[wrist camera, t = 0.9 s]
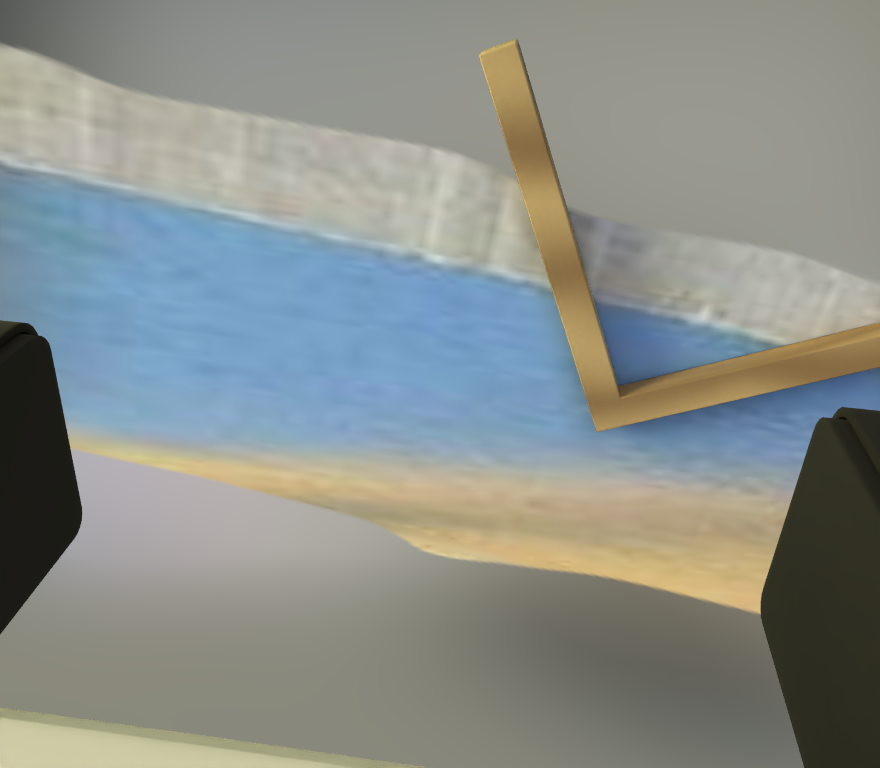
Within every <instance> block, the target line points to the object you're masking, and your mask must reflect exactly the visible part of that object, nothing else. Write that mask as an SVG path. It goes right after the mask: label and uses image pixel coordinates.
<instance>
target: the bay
mask: <svg viewBox="0 0 880 768" xmlns="http://www.w3.org/2000/svg"><path fill="white" fill-rule="evenodd" d="M479 58H480V61H481V64H482V68H483V70H484V74H485V77H486V80H487V83H488V86H489V90H490V93H491V96H492V99H493V102H494V106H495V109H496V112H497V115H498V119H499V121H500V125H501V128H502V131H503V135H504V138H505V141H506V144H507V147H508V150H509V154H510V156H511V160H512V163H513V166H514V170H515V173H516V176H517V179H518V182H519V186H520V189H521V192H522V195H523V198H524V202H525V205H526V208H527V211H528V214H529V217H530V221H531V224H532V227H533V230H534V233H535V237H536V240H537V243H538V246H539V249H540V253H541V256H542V259H543V262H544V265H545V269H546V272H547V275H548V278H549V281H550V284H551V288H552V291H553V294H554V297H555V300H556V304H557V307H558V310H559V313H560V316H561V320H562V323H563V326H564V329H565V332H566V336H567V339H568V342H569V345H570V348H571V351H572V355H573V358H574V361H575V364H576V367H577V371H578V374H579V377H580V380H581V383H582V387H583V390H584V393H585V396H586V399H587V403H588V406H589V409H590V412H591V415H592V419H593V422H594V425H595V428H596V431H597V432H599V431H603V430H608V429H612V428H616V427H621V426H625V425H630V424H634V423H638V422H643V421H647V420H651V419H656V418H660V417H664V416H669V415H673V414H678V413H682V412H686V411H691V410H695V409H699V408H704V407H708V406H712V405H717V404H721V403H726V402H730V401H734V400H739V399H743V398H747V397H752V396H756V395H760V394H765V393H769V392H774V391H778V390H782V389H787V388H791V387H795V386H800V385H804V384H808V383H813V382H817V381H822V380H826V379H830V378H835V377H839V376H843V375H848V374H852V373H856V372H861V371H865V370H870V369H874V368H878V367H880V323H877V324H873V325H869V326H865V327H860V328H856V329H852V330H848V331H844V332H840V333H836V334H831V335H827V336H823V337H819V338H815V339H811V340H807V341H803V342H798V343H794V344H790V345H786V346H782V347H778V348H774V349H770V350H765V351H761V352H757V353H753V354H749V355H745V356H741V357H736V358H732V359H728V360H724V361H720V362H716V363H712V364H708V365H703V366H699V367H695V368H691V369H687V370H683V371H679V372H675V373H670V374H666V375H662V376H658V377H654V378H650V379H646V380H642V381H637V382H633V383H629V384H625V385H621V386H619V384H618V381H617V377H616V374H615V370H614V367H613V364H612V360H611V357H610V353H609V350H608V347H607V343H606V340H605V336H604V333H603V329H602V326H601V323H600V319H599V316H598V312H597V309H596V305H595V302H594V299H593V295H592V292H591V288H590V285H589V282H588V278H587V275H586V271H585V268H584V264H583V261H582V258H581V254H580V251H579V247H578V244H577V240H576V237H575V234H574V230H573V227H572V223H571V220H570V217H569V213H568V210H567V206H566V203H565V199H564V196H563V193H562V189H561V186H560V182H559V179H558V176H557V172H556V169H555V165H554V162H553V158H552V155H551V152H550V148H549V145H548V141H547V138H546V135H545V131H544V128H543V124H542V121H541V118H540V114H539V110H538V107H537V104H536V100H535V97H534V93H533V90H532V87H531V83H530V80H529V76H528V73H527V70H526V66H525V63H524V60H523V56H522V52H521V49H520V45H519V42H518V40H517V39H514V40H511V41H508V42H506V43H503V44H500V45H498V46H495V47H492V48H489V49H486V50H484V51H482V52H481V53H480V55H479Z"/></svg>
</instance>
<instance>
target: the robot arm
mask: <svg viewBox="0 0 880 768" xmlns="http://www.w3.org/2000/svg"><path fill="white" fill-rule="evenodd" d="M81 521H82V506H81V501H80V496H79V491H78V486H77V481H76V475H75V470H74V465H73V460H72V455H71V450H70V445H69V439H68V434H67V429H66V424H65V419H64V414H63V409H62V404H61V399H60V394H59V388H58V383H57V378H56V373H55V368H54V363H53V358H52V353H51V348H50V345H49V343H48V341H47V340H46V339H45V338H44V337H42V336H38V333H37V332H36V330H35V329H34V327H32V326H31V325H29V324H28V323H19V322H10V321H0V634H1V633H2V631H3V630H4V629H5V628H6V626H7V625H8V624H9V622H10V621H11V620H12V618H13V617H14V616H15V615H16V613H17V612H18V611H19V609H20V608H21V607H22V606H23V604H24V603H25V602H26V600H27V599H28V598H29V596H30V595H31V594H32V593H33V591H34V590H35V589H36V587H37V586H38V585H39V583H40V582H41V581H42V580H43V578H44V577H45V576H46V575H47V573H48V572H49V571H50V569H51V568H52V567H53V565H54V564H55V563H56V562H57V560H58V559H59V558H60V556H61V555H62V554H63V552H64V551H65V550H66V548H67V547H68V546H69V545H70V543H71V542H72V541H73V539H74V538H75V537H76V535H77V533H78V531H79V528H80V524H81ZM761 619H762V623H763V627H764V630H765V634H766V637H767V641H768V644H769V648H770V651H771V654H772V658H773V661H774V665H775V668H776V671H777V675H778V678H779V682H780V685H781V689H782V692H783V696H784V699H785V703H786V706H787V709H788V713H789V716H790V720H791V723H792V726H793V730H794V733H795V737H796V740H797V744H798V747H799V751H800V754H801V757H802V761H803V764H804V768H880V411H875V410H865V409H856V408H846V407H842V408H840V409H838V410H837V412H836V413H835V414H834V416H833V418H824V417H823V418H821V419H819V421H818V422H817V424H816V426H815V429H814V431H813V434H812V438H811V441H810V444H809V447H808V450H807V453H806V456H805V459H804V463H803V466H802V469H801V472H800V475H799V478H798V481H797V485H796V488H795V491H794V494H793V497H792V500H791V503H790V506H789V510H788V513H787V516H786V519H785V522H784V525H783V528H782V532H781V535H780V538H779V541H778V544H777V547H776V550H775V553H774V557H773V560H772V563H771V566H770V569H769V572H768V575H767V579H766V582H765V585H764V588H763V592H762V597H761ZM0 768H428V767H422V766H415V765H407V764H400V763H393V762H387V761H379V760H372V759H365V758H358V757H351V756H344V755H337V754H330V753H323V752H316V751H309V750H302V749H295V748H288V747H281V746H273V745H267V744H259V743H253V742H246V741H238V740H231V739H224V738H216V737H210V736H203V735H196V734H188V733H181V732H174V731H167V730H160V729H153V728H145V727H138V726H131V725H124V724H117V723H110V722H102V721H95V720H87V719H81V718H73V717H66V716H58V715H51V714H43V713H35V712H28V711H21V710H14V709H6V708H0Z"/></svg>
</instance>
